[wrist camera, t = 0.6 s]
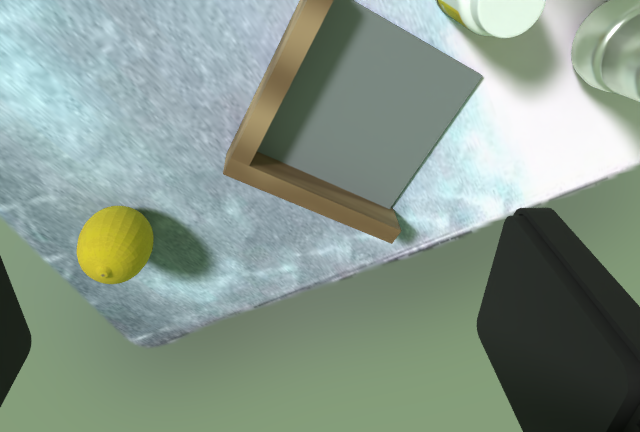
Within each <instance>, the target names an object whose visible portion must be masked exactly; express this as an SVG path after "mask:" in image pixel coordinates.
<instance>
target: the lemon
mask: <svg viewBox="0 0 640 432" xmlns="http://www.w3.org/2000/svg"><path fill="white" fill-rule="evenodd" d="M152 249H153V232H152V228H151V225H150V223H149V222H148V220H147V219H146V218H145V217H144V216H143V214H141V213H140V212H138V211H137V210H135V209H133V208H130V207H126V206H111V207H107V208H104V209H102V210H100V211H98V212H97V213H95V214H94V215H93V216H92V217H91V218H90V219H89V220H88V221H87V222H86V224H85V225H84V227H83V229H82V231H81V233H80V235H79V239H78V245H77V257H78V262H79V264H80V266H81V268H82V270H83V271H84V272H85V273H86V274H87V275H88V276H89V277H90V278H92V279H93V280H96V281H98V282H101V283H105V284H117V283H122V282H125V281H127V280H129V279H131V278H133V277H134V276H135V275H137V274H138V273H139V272H140V270H141V269H142V268H143V267H144V266H145V264H146V263H147V261H148V259H149V257H150V254H151V252H152Z"/></svg>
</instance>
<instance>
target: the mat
mask: <svg viewBox="0 0 640 432" xmlns="http://www.w3.org/2000/svg"><path fill="white" fill-rule="evenodd" d="M481 78H482V75H481V74H479V73H477V72H476V71H474V70H472V69H471V68H469V67H467V66H465V65H464V64H462V63H460V62H459V61H457V60H455V59H453V58H452V57H450V56H448V55H446V54H445V53H443V52H441V51H440V50H438V49H436V48H434V47H433V46H431V45H429V44H427V43H426V42H424V41H422V40H421V39H419V38H417V37H415V36H414V35H412V34H410V33H409V32H407V31H405V30H403V29H402V28H400V27H398V26H396V25H395V24H393V23H391V22H390V21H388V20H386V19H384V18H383V17H381V16H379V15H378V14H376V13H374V12H372V11H371V10H369V9H367V8H365V7H364V6H362V5H360V4H359V3H357V2H355V1H353V0H333V2H332V4H331V6H330V8H329V10H328V12H327V14H326V16H325V18H324V20H323V22H322V24H321V26H320V28H319V30H318V32H317V34H316V36H315V38H314V40H313V42H312V44H311V46H310V48H309V49H308V51H307V53H306V55H305V57H304V59H303V61H302V63H301V65H300V67H299V69H298V71H297V73H296V75H295V77H294V79H293V81H292V83H291V85H290V87H289V89H288V91H287V93H286V95H285V97H284V99H283V101H282V103H281V104H280V106H279V108H278V110H277V112H276V114H275V116H274V118H273V120H272V122H271V124H270V126H269V128H268V130H267V132H266V134H265V136H264V138H263V140H262V142H261V144H260V146H259V148H258V150H257V152H260V153H262V154H264V155H267V156H269V157H271V158H273V159H276V160H278V161H280V162H283V163H285V164H287V165H289V166H292V167H294V168H296V169H299V170H301V171H303V172H305V173H308V174H310V175H312V176H315V177H317V178H319V179H321V180H324V181H326V182H328V183H331V184H333V185H335V186H337V187H340V188H342V189H344V190H347V191H349V192H351V193H354V194H356V195H358V196H360V197H363V198H365V199H367V200H370V201H372V202H374V203H376V204H379V205H381V206H383V207H386V208H388V209H390V208H391V206H392V205H393V203H394V202H395V200H396V199H397V198H398V196H399V195H400V193H401V192H402V190H403V189H404V188H405V186H406V185H407V183H408V182H409V180H410V179H411V178H412V176H413V175H414V173H415V172H416V170H417V169H418V168H419V166H420V165H421V163H422V162H423V160H424V159H425V158H426V156H427V155H428V153H429V152H430V150H431V149H432V148H433V146H434V145H435V143H436V142H437V140H438V139H439V138H440V136H441V135H442V133H443V132H444V130H445V129H446V128H447V126H448V125H449V123H450V122H451V120H452V119H453V118H454V116H455V115H456V113H457V112H458V110H459V109H460V108H461V106H462V105H463V103H464V102H465V100H466V99H467V98H468V96H469V95H470V93H471V92H472V90H473V89H474V88H475V86H476V85H477V83H478V82H479V80H480V79H481Z"/></svg>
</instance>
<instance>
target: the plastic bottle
mask: <svg viewBox="0 0 640 432" xmlns="http://www.w3.org/2000/svg"><path fill="white" fill-rule="evenodd" d="M571 60H572V64H573V67H574V69H575V70H576V72H577V73H578V74H579V75H580V76H581V78H582V79H583V80H584V81H585V82H586V83H587V84H589V85H590V86H592V87H594V88H597V89H600V90H603V91H606V92H611V93H616V94H621V95H623V96H626V97H628V98H631V99H633V100H636V101H638V102H640V0H609V1H607V2H605V3H604V4H602V5H600V6H599V7H598V8H596V9H595V10H594V11H593V12H592V13H591V14H590V15H589V16H588V17H587V18H586V19H585V20H584V21H583V23H582V24H581V25H580V27H579V29H578V31H577V32H576V34H575V37H574V41H573V44H572V50H571Z"/></svg>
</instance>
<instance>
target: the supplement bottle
mask: <svg viewBox="0 0 640 432" xmlns="http://www.w3.org/2000/svg"><path fill="white" fill-rule="evenodd" d="M545 2H546V0H436V3H437V5H438V6H439V8H440V9H441V10H442V11H443V12H444V13H445V14H447V15H448V16H450V17H451V18H453V19H454V20H456V21H457V22H459V23H460V24H462V25H463V26H465V27H466V28H468V29H469V30H471V31H472V32H474V33H476V34H479V35H483V36H494V37H498V38H512V37H515V36H518V35H520V34H522V33H524V32H525V31H527V30H528V29H529V28H530V27H531V26H532V25H534V23H535V22H536V21H537V20H538V18H539V17H540V15H541V13H542V11H543V9H544V6H545Z"/></svg>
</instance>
